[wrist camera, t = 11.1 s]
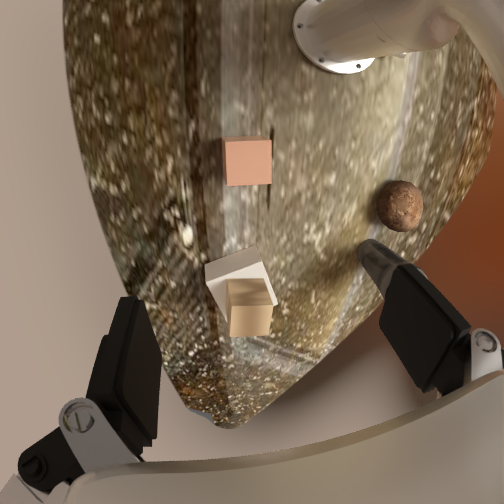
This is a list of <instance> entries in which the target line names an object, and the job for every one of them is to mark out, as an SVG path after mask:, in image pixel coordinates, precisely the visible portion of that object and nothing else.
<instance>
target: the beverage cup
mask: <svg viewBox="0 0 504 504" xmlns="http://www.w3.org/2000/svg"><path fill="white" fill-rule="evenodd" d="M357 257H358V259H359V260H360V262H361V264H362V265H363V267H364V268H365V270H366V271H367V273H368V274H369V276H370V277H371V278H372V280H373V281H374V283H375V284H376V286H377V287H378V289H379V290H380V292H381V294H382V296H383V298H384V300H385V299H386V296H387V292H388V289H389V285H390V281H391V277H392V274H393V271H394V270H395V269H396V267H397V266H398V265H402V264H408V263H409V262H407V261H406V260H404V259H403V258H402V257H400V256H399V255H397V254H396V253H395V252H393V251H392V250H390V249H389V248H387V247H386V246H384V245H383V244H382V243H379V242H378V241H376V240H374V239H368V240H366V241H364V242H363V243H362V244H361V245H360V247H359V249H358V252H357ZM411 264H412V263H411ZM414 266H415V265H414ZM415 267H416V268H417V269H418V270H419V271H420V272H421V273H422V274H423V275H424V276H425V277H426V278H427V276H426V275H425V274H424V272H423V270H422V269H421V268H419V267H417V266H415ZM427 279H428V278H427Z"/></svg>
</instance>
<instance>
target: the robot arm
mask: <svg viewBox="0 0 504 504" xmlns="http://www.w3.org/2000/svg"><path fill="white" fill-rule="evenodd" d="M317 1H318V2H317ZM460 25H461V26H462V28H463V29H464V30H465V31H466V33H467V34H468V36H469V37H470V39H471V40H472V42H473V43H474V45H475V46H476V47H477V49H478V51H479V52H480V54H481V56H482V58H483V59H484V61H485V63H486V65H487V67H488V69H489V71H490V73H491V75H492V77H493V79H494V81H495V83H496V85H497V87H498V89H499V91H500V93H501V96H502V98H503V100H504V0H306V1H305V2H303V3H302V4H301V5H300V6H299V7H298V9H297V10H296V12H295V14H294V17H293V22H292V30H293V35H294V38H295V41H296V43H297V45H298V47H299V48H300V50H301V52H302V53H303V54H304V55H305V56H306V57H307V58H308V59H309V60H310V61H311V62H312V63H314V64H315V65H317V66H318V67H320V68H321V69H324V70H326V71H329V72H332V73H336V74H352V73H356V72H360V71H362V70H364V69H366V68H367V67H368V66H369V65H370V64H371V63H372V62H373V60H374V59H375V58H377V57H383V56H388V55H392V56H396V57H399V58H404V57H405V55H406V53H409V52H417V51H425V50H433V49H438V48H440V47H443V46H445V45H446V44H447V43H449V42H450V41H451V40H452V39H453V37H454V36H455V34H456V33H457V31H458V29H459V26H460ZM297 26H299V27H300V28H298V27H297ZM318 59H319V60H320V61H321V62H319V61H318ZM356 66H357V68H356ZM379 326H380V329H381V330H382V332H383V333H384V335H385V336H386V338H387V339H388V341H389V342H390V344H391V345H392V347H393V349H394V350H395V352H396V353H397V355H398V356H399V358H400V360H401V361H402V363H403V365H404V366H405V368H406V369H407V371H408V373H409V374H410V376H411V378H412V379H413V381H414V383H415V384H416V386H417V387H418V388H421V390H422V392H423V393H426V392H429V391H431V390H433V389H434V388H435V386H436V387H437V389H438V392H437V398H436V400H435V401H433V402H431V403H429V404H427V405H424V406H422V407H420V408H418V409H415V410H414V411H411V412H408V413H406V414H404V415H401V416H399V417H396V418H394V419H391V420H388V421H386V422H383V423H380V424H377V425H375V426H372V427H369V428H366V429H363V430H360V431H357V432H354V433H350V434H347V435H344V436H340V437H337V438H333V439H329V440H326V441H322V442H318V443H313V444H309V445H305V446H301V447H296V448H291V449H286V450H280V451H275V452H270V453H263V454H256V455H248V456H241V457H231V458H220V459H208V460H191V461H161V462H146V461H145V460H144V458H143V457H142V456H141V454H142V453H143V446H144V447H152V439H156V438H157V424H158V405H159V390H160V377H161V366H162V354H161V351H160V348H159V345H158V342H157V340H156V337H155V334H154V331H153V328H152V325H151V322H150V319H149V316H148V313H147V310H146V307H145V304H144V301H143V300H139V299H138V297H137V296H129V297H121V298H120V300H119V303H118V306H117V309H116V312H115V315H114V318H113V321H112V324H111V327H110V331H109V334H108V335H104V336H103V338H102V340H101V344H100V347H99V350H98V353H97V357H96V360H95V363H94V367H93V371H92V374H91V378H90V382H89V386H88V390H87V394H86V398H75V399H73V400H71V401H69V402H68V403H66V404H65V405H64V407H63V408H62V410H61V412H60V414H59V425H60V426H59V427H58V428H56V429H55V430H54V431H52V432H51V433H49V434H48V435H46V436H45V437H44V438H42V439H41V440H39V441H38V442H36V443H35V444H33V445H32V446H31V447H29V448H28V449H26V450H25V451H24V452H23V453H22V454H21V456H20V458H19V461H18V471H19V473H18V475H15V474H13V475H12V477H11V478H10V480H9V481H8V482H7V484H6V485H5V486H4V488H3V489H2V491H1V492H0V504H504V350H503V349H501V348H500V343H499V340H498V339H497V337H496V336H495V335H494V334H493V333H492V332H490V331H488V330H486V329H476V330H474V331H473V333H472V334H471V335H470V334H469V331H470V329H471V326H470V325H469V323H468V322H467V321H466V320H465V319H464V317H463V316H462V315H461V314H460V313H459V312H458V311H457V310H456V309H455V308H454V306H453V305H452V304H451V303H450V302H449V301H448V300H447V299H446V298H445V297H444V296H443V295H442V294H441V292H440V291H439V290H438V289H437V288H436V287H435V286H434V285H433V284H432V283H431V282H430V281H429V280H428V279H427V278H426V277H425V276H424V275H423V274H422V273H421V272H420V271H419V270H418V269H417V268H416V267H415V266H414V265H413V264H411V263H408V264H402V265H398V266H397V267H396V269H395V270H394V271H393V274H392V277H391V281H390V285H389V289H388V292H387V296H386V299H385V303H384V306H383V310H382V313H381V316H380V319H379Z"/></svg>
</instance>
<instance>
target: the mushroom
mask: <svg viewBox="0 0 504 504" xmlns="http://www.w3.org/2000/svg"><path fill="white" fill-rule="evenodd" d="M377 211H378V215H379V217H380V219H381V221H382V223H383V224H384V225H386V226H387V227H388V228H389V229H391V230H394V231H397V232H407V231H409V230H411V229H412V228H414V227H415V226H416V225H417V224H418V222H419V221H420V219H421V216H422V212H423V198H422V196H421V194H420V192H419V189H418V188H417V187H415V186H414V185H413V184H412V183H410V182H406V181H402V180H400V181H395V182H392V183H390V184H389V185H388V186H386V187H385V189H384V190H383V192H382V193H381V195H380V197H379V200H378V202H377Z"/></svg>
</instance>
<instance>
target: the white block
mask: <svg viewBox="0 0 504 504" xmlns="http://www.w3.org/2000/svg"><path fill="white" fill-rule="evenodd" d="M229 278H264V281H265V283H266V286H267V289H268V291H269V294H270V297H271V300H272V302H273V306H275V305H278V302H277V300H276V297H275V294H274V292H273V289H272V286H271V284H270V281H269V278H268V276H267V273H266V271H265V268H264V265H263V263H262V260H261V258H260V255H259V252H258V250H257V247H256V245H254V246H252V247H249V248H246V249H244V250H241V251H239V252H236V253H233V254H231V255H228V256H226V257H223V258H220V259H218V260H215V261H213V262H210V263H207V264H205V280H206V284H207V286H208V288H209V290H210V292H211V293H212V295H213V297H214V299H215V301H216V303H217V304H218V306H219V308H220V310H221V312H222V314H223V315H224V317H225V319H226V321H227V316H226V309H225V305H226V285H227V279H229Z"/></svg>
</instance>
